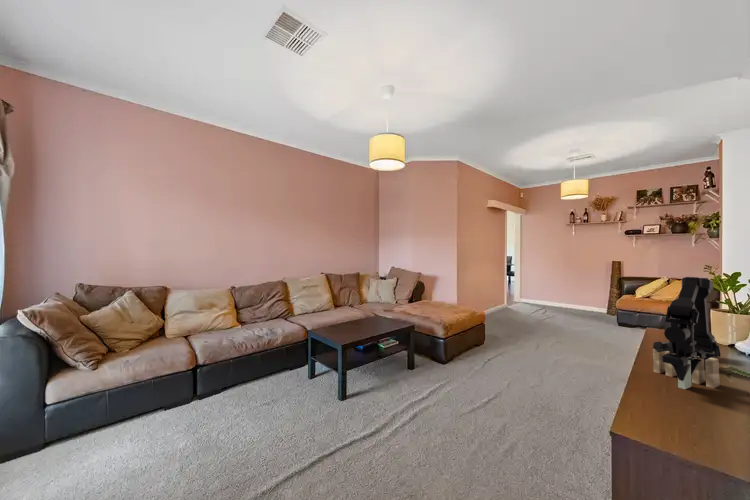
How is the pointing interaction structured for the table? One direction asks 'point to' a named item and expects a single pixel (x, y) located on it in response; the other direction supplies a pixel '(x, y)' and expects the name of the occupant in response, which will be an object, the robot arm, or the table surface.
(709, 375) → the domino
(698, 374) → the domino
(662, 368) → the domino
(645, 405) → the table surface
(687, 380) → the domino
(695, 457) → the table surface
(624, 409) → the table surface
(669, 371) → the domino
